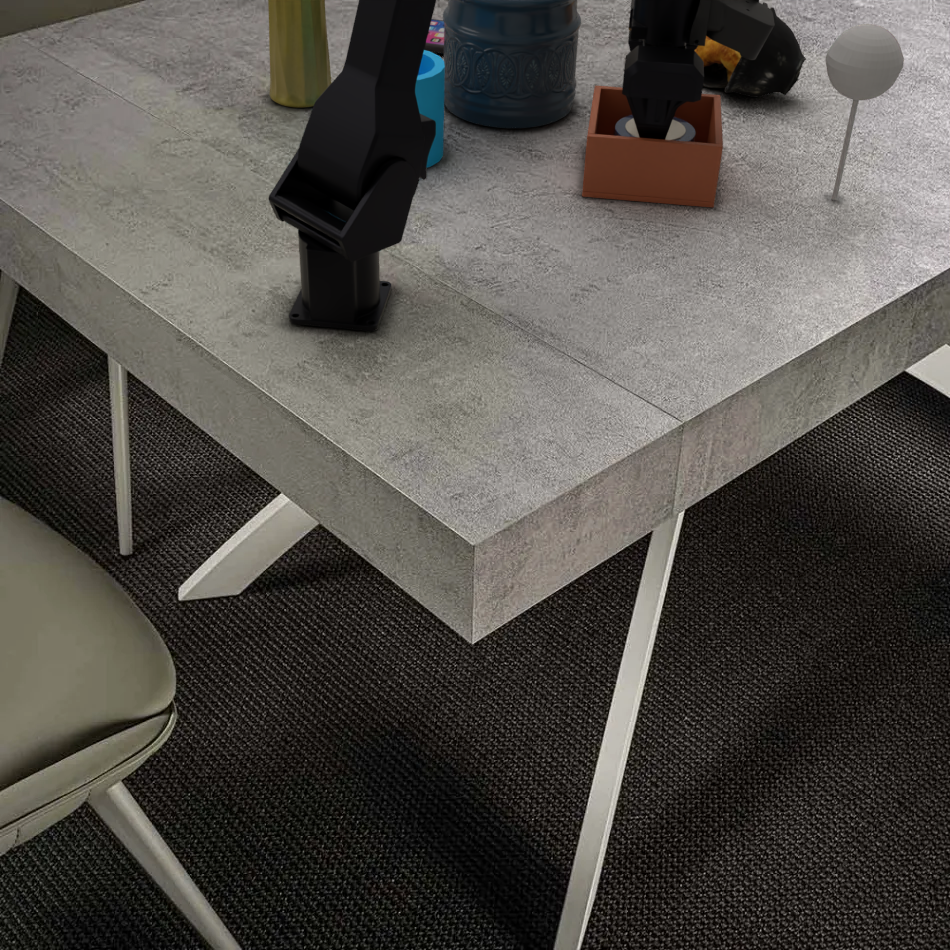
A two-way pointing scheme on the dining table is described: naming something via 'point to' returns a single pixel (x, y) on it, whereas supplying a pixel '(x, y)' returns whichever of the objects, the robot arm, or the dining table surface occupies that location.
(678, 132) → the navy jar lid
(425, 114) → the mug
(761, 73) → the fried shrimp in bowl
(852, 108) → the lollipop
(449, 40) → the canister
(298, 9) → the vase
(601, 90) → the tub
